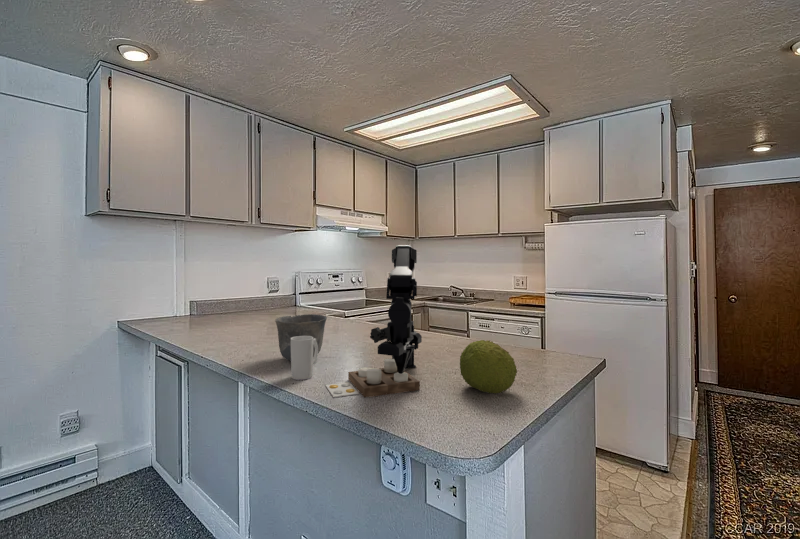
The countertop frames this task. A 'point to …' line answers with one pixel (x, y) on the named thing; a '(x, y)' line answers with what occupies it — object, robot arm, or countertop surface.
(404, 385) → the board
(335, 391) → the card
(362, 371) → the white egg
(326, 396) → the countertop surface
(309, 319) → the dark grey pot
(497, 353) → the fruit
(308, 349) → the mug
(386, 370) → the pale grey egg
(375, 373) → the button
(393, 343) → the robot arm
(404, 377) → the button
